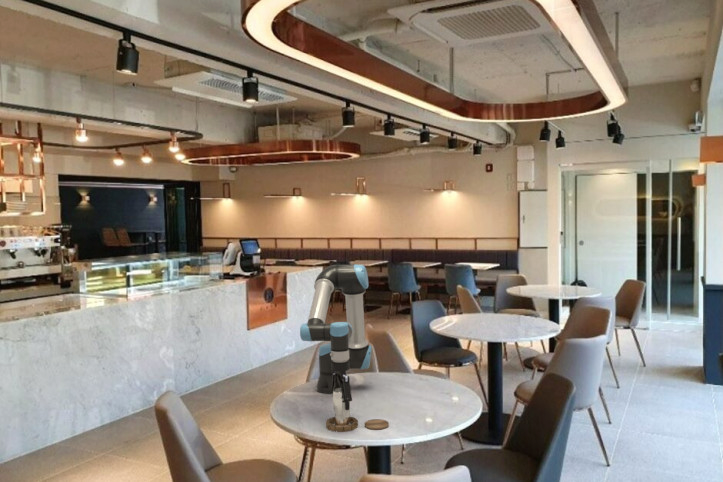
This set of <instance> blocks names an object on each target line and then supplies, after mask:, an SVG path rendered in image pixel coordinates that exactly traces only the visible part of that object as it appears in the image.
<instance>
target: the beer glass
mask: <svg viewBox="0 0 723 482" xmlns="http://www.w3.org/2000/svg"><path fill="white" fill-rule="evenodd" d="M347 399H348V398H347ZM342 401H343V395H342V391H341V388H337V389H334V390H333V393H332V405H333V411H334V415H335V416H334V417H335V423H334V425H336V426H344V425H350V423H349V421H348V417H347V418H343V402H342Z"/></svg>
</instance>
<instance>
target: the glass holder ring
mask: <svg viewBox="0 0 723 482" xmlns="http://www.w3.org/2000/svg"><path fill="white" fill-rule="evenodd" d="M348 421H349V425H344V426H336V425H335V416H334V417H330V418H328V419H327V420H326V421H325V428H326V429H327V431H330V430H331V432H334V431H335V432H336V431H337V432H336V433H346V432H351V431H354V430H356V429H357V428H358V427H359V419H357V418H356V417H354V416H350V417H348Z"/></svg>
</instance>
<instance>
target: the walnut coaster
mask: <svg viewBox="0 0 723 482" xmlns="http://www.w3.org/2000/svg"><path fill="white" fill-rule="evenodd" d="M389 425H390V424H389V421H388V420H385V419H380V418H378V419H375V418H374V419H369V420H366V421H364V428H365V429H367V430H372V431H380V430H386V429H387V428H389V427H390V426H389Z"/></svg>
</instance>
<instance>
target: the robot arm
mask: <svg viewBox="0 0 723 482" xmlns="http://www.w3.org/2000/svg"><path fill="white" fill-rule="evenodd" d="M368 275H369V274H368V271H367V268H366V266H365V265H364V264H333V265H329V266H327V267H326V268H324V269H322V271H321V272H320V273H318V275H317V277H316V279H315V281H314V284H313V287H314V294H313V297H312V302H311V306H310V311H309V315H308V320H307V322H306V323H302V324H301V325H300V328H299V330H300V331H299V335H300V339H301V341H303V342H311V343H312V342H328V343H325V344H322V345H321V346H319V348H318V349H319V350H318V365H319V368H318V370H319V376H318V379H317V383H316V388H315V389H316V392H318V393H321V394H333V390H334V389H337V388H341V391H342V395H343V401H342V402H343V418H347V417H351V407H350V405H351V402H352V401H353V399H352V397H353V396H352V390H351V389H352V388H351V384H350V376H349V375H347V371H349V370H367V369H369V368H370V365H371V359H372V350H373V347H372V345H371V344H369V341H368V340H367V339H366V332H365V314H364V313H365V312H364V295H365V293H366V290H367V289H368V288H369V276H368ZM335 289H337V290H338V289H339V290H341V294H343V295H344V296H345V298H344V299H345V311H346V312H345V313H346V314H345V315H346V321H336V322H332V323H326V318H327V313H328V309H329V305H330V300H331V295H332V293H333V292H334V290H335ZM347 398H348V399H347Z"/></svg>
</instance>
